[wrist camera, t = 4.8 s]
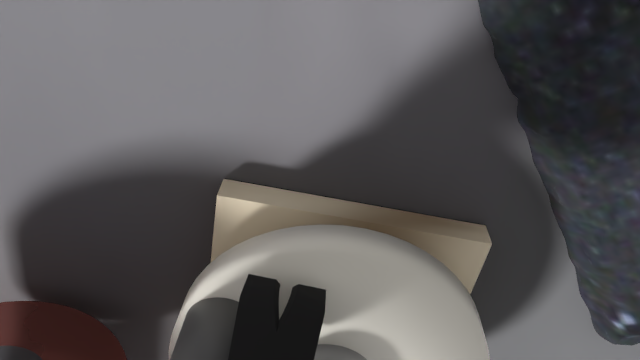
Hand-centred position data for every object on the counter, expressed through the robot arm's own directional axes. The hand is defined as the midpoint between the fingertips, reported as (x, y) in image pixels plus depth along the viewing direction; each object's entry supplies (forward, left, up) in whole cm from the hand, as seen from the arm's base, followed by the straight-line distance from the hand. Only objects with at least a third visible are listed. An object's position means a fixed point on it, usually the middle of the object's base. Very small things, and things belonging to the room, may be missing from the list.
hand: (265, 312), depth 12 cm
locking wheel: (-2, +2, -1) cm, 3 cm away
